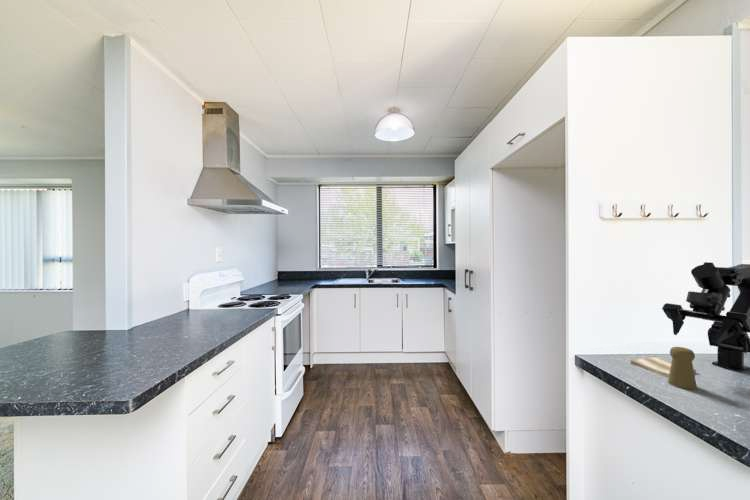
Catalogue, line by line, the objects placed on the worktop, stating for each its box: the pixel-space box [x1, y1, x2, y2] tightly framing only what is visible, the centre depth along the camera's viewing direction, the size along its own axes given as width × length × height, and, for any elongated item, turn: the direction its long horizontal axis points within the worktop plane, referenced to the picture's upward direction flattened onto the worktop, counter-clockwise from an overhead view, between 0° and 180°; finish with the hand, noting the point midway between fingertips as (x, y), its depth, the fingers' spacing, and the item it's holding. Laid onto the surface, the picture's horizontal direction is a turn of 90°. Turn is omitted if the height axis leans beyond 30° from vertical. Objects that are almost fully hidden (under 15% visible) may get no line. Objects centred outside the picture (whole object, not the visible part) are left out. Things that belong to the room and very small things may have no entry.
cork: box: [667, 346, 698, 391], centre depth 90 cm, size 6×6×11 cm
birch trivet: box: [630, 356, 697, 378], centre depth 102 cm, size 12×12×1 cm
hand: (694, 338), depth 93 cm, fingers open, 9 cm apart
